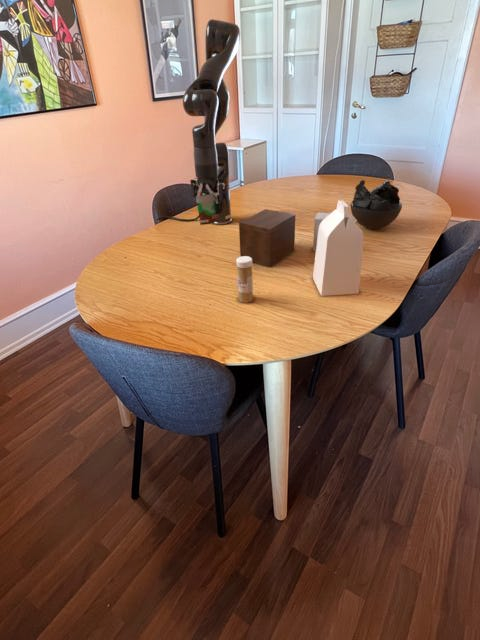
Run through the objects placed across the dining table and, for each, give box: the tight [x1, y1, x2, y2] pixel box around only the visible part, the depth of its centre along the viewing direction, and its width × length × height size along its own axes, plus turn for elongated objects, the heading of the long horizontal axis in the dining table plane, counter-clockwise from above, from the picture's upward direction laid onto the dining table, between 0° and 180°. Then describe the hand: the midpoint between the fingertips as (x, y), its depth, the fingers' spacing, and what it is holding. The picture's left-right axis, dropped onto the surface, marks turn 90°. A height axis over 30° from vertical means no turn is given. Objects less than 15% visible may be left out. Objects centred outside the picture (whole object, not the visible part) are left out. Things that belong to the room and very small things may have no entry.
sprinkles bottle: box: [235, 256, 254, 303], centre depth 113 cm, size 5×5×13 cm
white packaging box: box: [312, 212, 332, 252], centre depth 142 cm, size 7×7×13 cm
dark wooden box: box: [238, 208, 296, 268], centre depth 139 cm, size 13×17×14 cm
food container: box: [195, 192, 218, 226], centre depth 131 cm, size 12×6×10 cm, turn 168°
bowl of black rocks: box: [350, 179, 403, 230], centre depth 156 cm, size 20×20×19 cm
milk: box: [312, 199, 365, 297], centre depth 114 cm, size 12×12×26 cm
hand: (210, 211), depth 132 cm, fingers closed on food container, 7 cm apart
